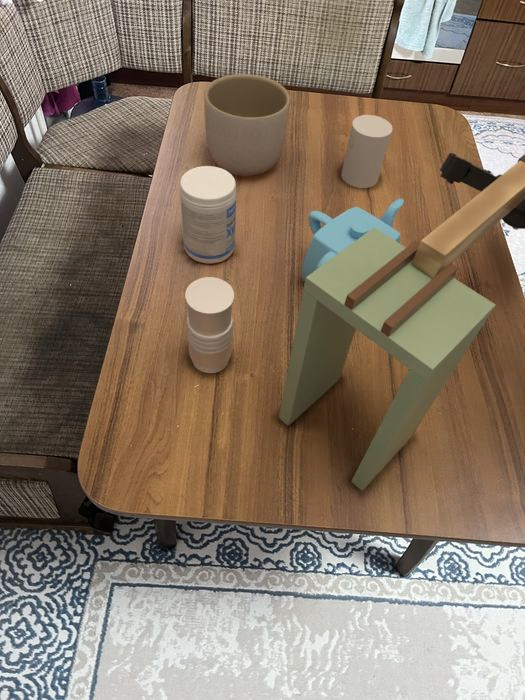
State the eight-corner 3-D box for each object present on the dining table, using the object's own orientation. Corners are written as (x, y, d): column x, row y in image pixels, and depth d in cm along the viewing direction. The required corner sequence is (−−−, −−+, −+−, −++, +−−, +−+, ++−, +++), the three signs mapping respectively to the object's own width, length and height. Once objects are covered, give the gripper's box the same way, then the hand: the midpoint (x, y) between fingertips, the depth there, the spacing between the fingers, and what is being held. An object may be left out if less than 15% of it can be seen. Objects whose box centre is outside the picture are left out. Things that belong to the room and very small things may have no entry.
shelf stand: (411, 437, 79) (502, 294, 54) (362, 491, 74) (438, 360, 48) (329, 372, 85) (377, 216, 60) (278, 417, 80) (307, 266, 54)
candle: (241, 359, 86) (245, 296, 74) (207, 383, 82) (206, 321, 70) (213, 333, 88) (213, 269, 76) (180, 355, 85) (174, 292, 73)
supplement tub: (238, 263, 98) (241, 197, 87) (187, 268, 97) (183, 202, 85) (229, 228, 104) (231, 162, 92) (180, 232, 102) (176, 166, 90)
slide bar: (533, 193, 67) (548, 167, 64) (434, 281, 57) (447, 255, 54) (510, 180, 69) (523, 154, 66) (408, 264, 58) (419, 238, 55)
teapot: (391, 322, 93) (414, 267, 82) (297, 311, 92) (309, 254, 82) (385, 250, 103) (405, 193, 93) (301, 241, 103) (312, 182, 93)
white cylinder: (350, 161, 120) (362, 110, 111) (383, 174, 118) (398, 123, 109) (335, 179, 116) (345, 127, 106) (368, 192, 114) (383, 142, 104)
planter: (290, 149, 121) (298, 83, 109) (272, 193, 111) (279, 126, 99) (218, 134, 123) (218, 67, 111) (194, 176, 113) (192, 108, 101)
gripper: (591, 269, 76) (577, 280, 58) (443, 186, 85) (394, 174, 68) (629, 222, 72) (627, 219, 55) (471, 140, 81) (427, 116, 64)
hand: (498, 194), depth 61 cm, fingers open, 13 cm apart
